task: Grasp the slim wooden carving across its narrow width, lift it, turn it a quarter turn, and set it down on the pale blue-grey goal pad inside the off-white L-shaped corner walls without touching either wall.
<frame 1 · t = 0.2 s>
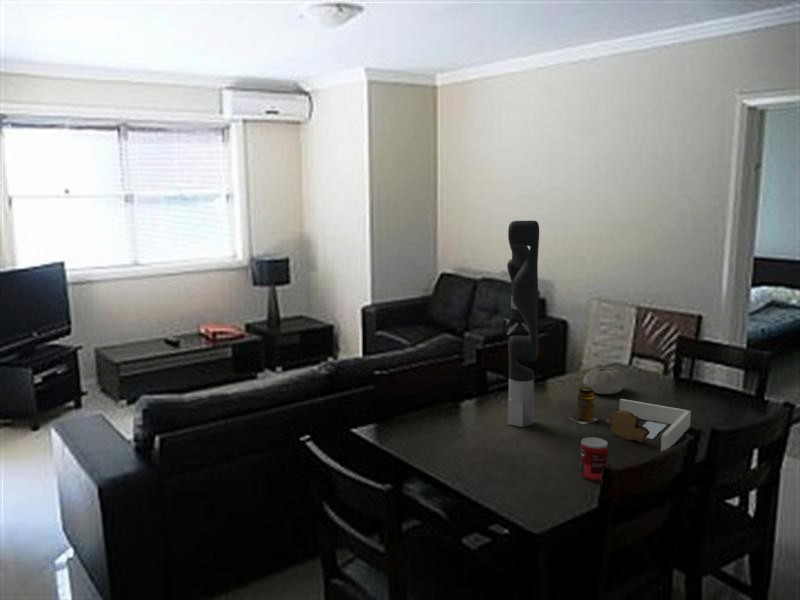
hand: (519, 342, 290), 22 cm above the table, tool pointing down, fingers open, 8 cm apart
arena: (641, 431, 246), on the table
condiment: (583, 420, 260), on the table
wooden carving: (627, 439, 241), on the table
decorative shell: (604, 392, 294), on the table
canned food: (593, 476, 211), on the table
goal pad: (650, 430, 248), on the table
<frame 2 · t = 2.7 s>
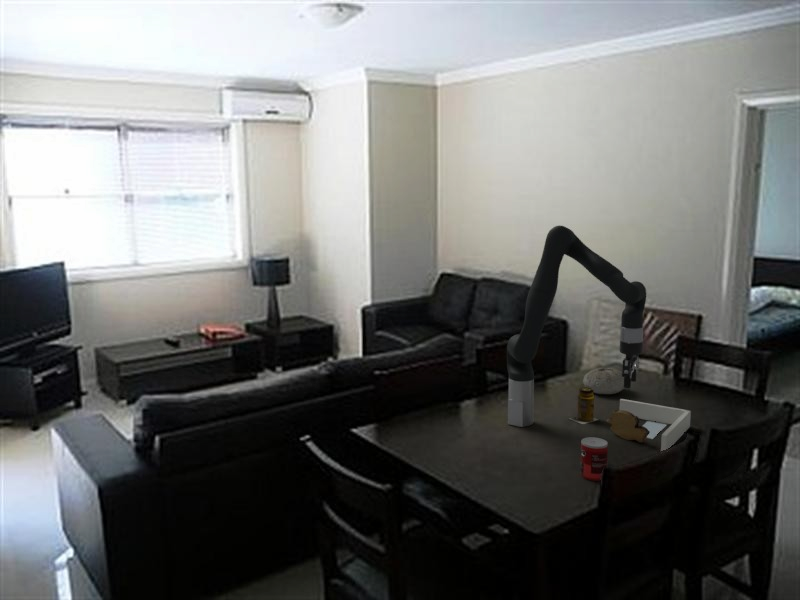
hand: (630, 384, 241), 18 cm above the table, tool pointing down, fingers open, 8 cm apart
nothing on the table moved.
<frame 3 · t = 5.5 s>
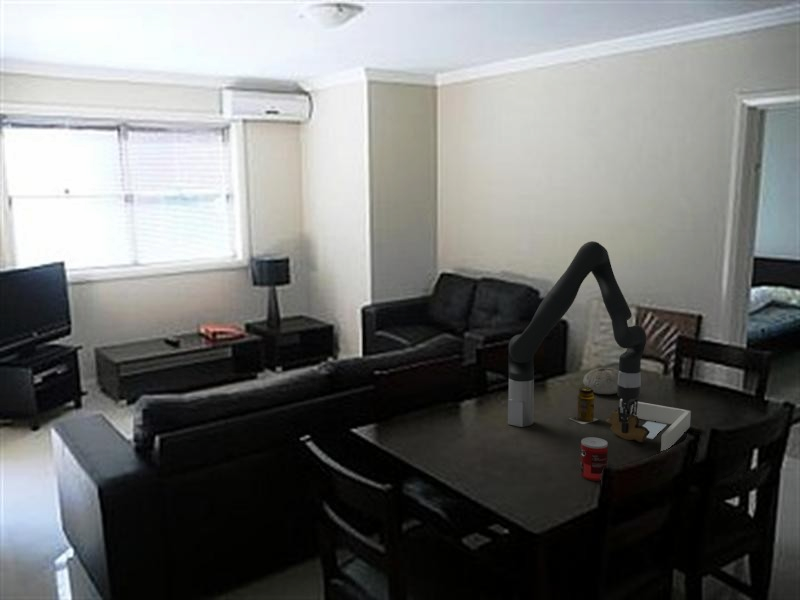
hand: (627, 430, 240), 3 cm above the table, tool pointing down, fingers closed on wooden carving, 4 cm apart
wooden carving: (627, 439, 241), on the table, touching gripper
everything else where it was.
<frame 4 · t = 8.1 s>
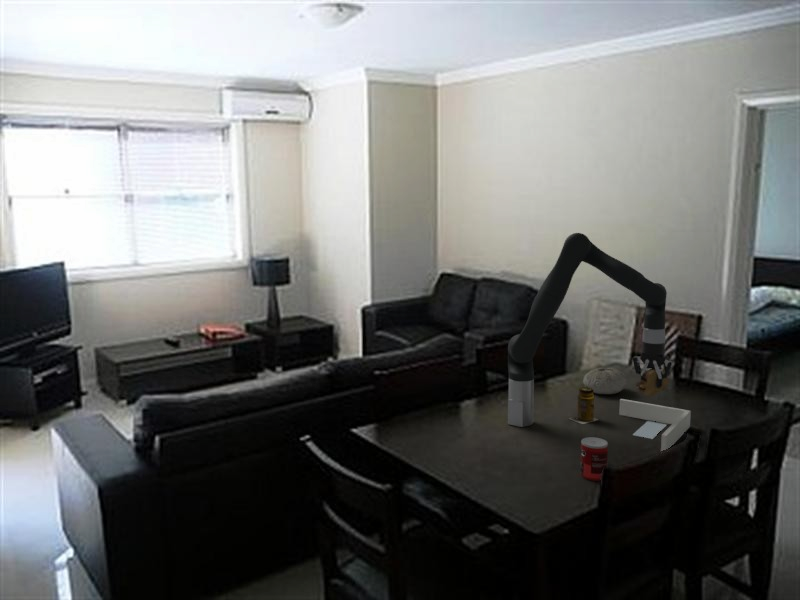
hand: (651, 386, 245), 16 cm above the table, tool pointing down, fingers closed on wooden carving, 4 cm apart
wooden carving: (651, 395, 246), point 13 cm above the table, touching gripper
everything else where it was.
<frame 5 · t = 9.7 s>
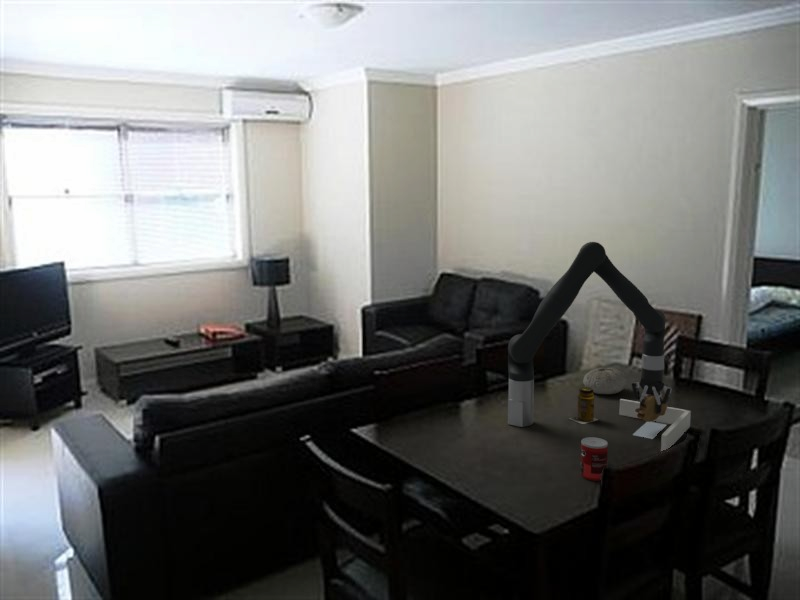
hand: (650, 412, 247), 7 cm above the table, tool pointing down, fingers closed on wooden carving, 4 cm apart
wooden carving: (650, 420, 248), point 4 cm above the table, touching gripper
everything else where it was.
when the fingers open (4 cm above the table, at t = 11.0 s): wooden carving drops 1 cm, resting on goal pad.
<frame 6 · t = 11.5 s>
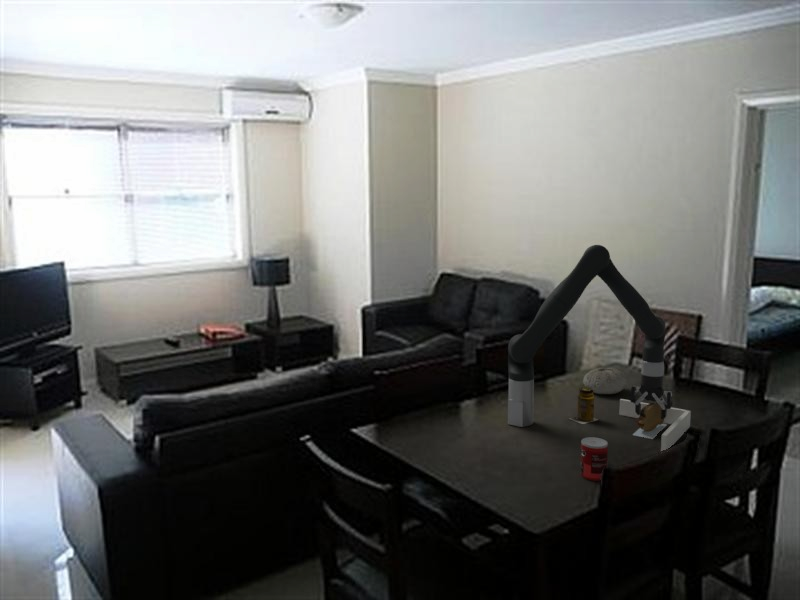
hand: (650, 416, 247), 5 cm above the table, tool pointing down, fingers open, 8 cm apart
wooden carving: (649, 430, 248), resting on goal pad
everything else where it was.
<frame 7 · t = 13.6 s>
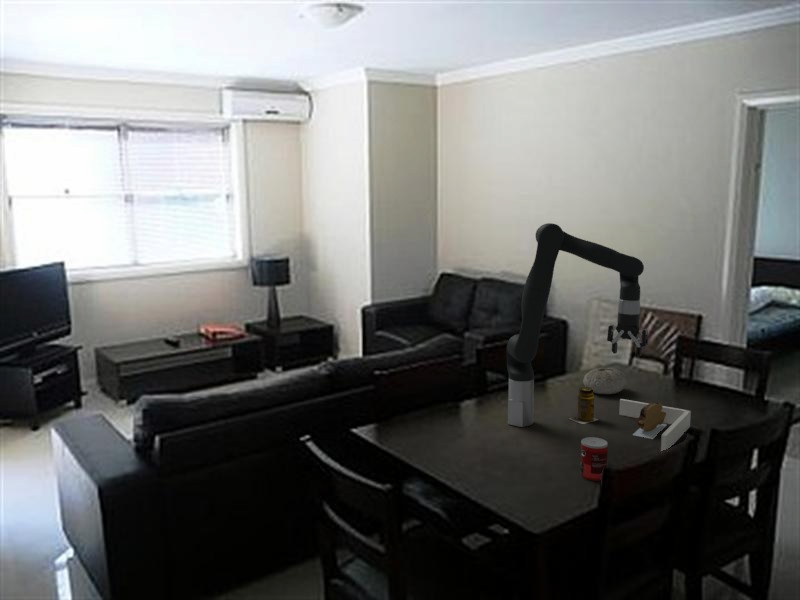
hand: (626, 355, 253), 25 cm above the table, tool pointing down, fingers open, 8 cm apart
nothing on the table moved.
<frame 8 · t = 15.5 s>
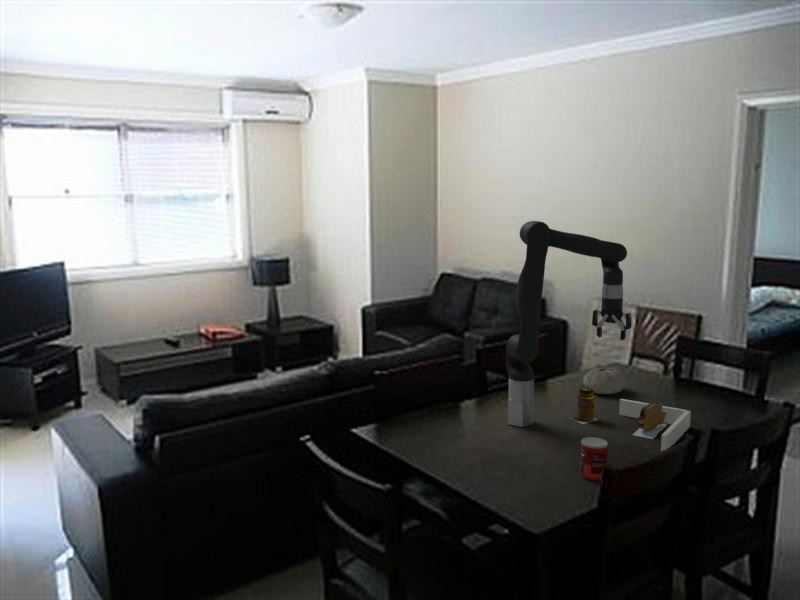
hand: (611, 338, 260), 30 cm above the table, tool pointing down, fingers open, 8 cm apart
nothing on the table moved.
at the end: wooden carving inside the target area (0.2 cm from its centre), resting on goal pad; wooden carving tilted 0°; wooden carving touching goal pad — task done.
